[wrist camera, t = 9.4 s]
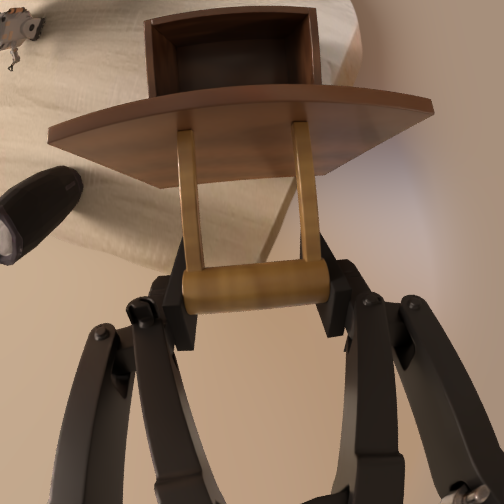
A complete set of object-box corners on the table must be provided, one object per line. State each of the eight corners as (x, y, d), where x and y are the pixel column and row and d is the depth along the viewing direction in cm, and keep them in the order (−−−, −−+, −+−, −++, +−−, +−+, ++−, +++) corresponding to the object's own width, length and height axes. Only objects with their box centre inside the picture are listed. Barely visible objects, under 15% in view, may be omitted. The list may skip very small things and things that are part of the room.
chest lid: (47, 127, 9) (63, 333, 10) (431, 98, 9) (449, 297, 10) (159, 181, 27) (167, 268, 28) (323, 167, 28) (330, 254, 28)
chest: (172, 44, 31) (143, 20, 19) (289, 35, 31) (316, 8, 19) (183, 156, 40) (160, 183, 28) (294, 147, 40) (323, 170, 28)
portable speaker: (50, 211, 42) (-14, 269, 25) (45, 161, 37) (-31, 204, 20) (88, 212, 43) (27, 276, 26) (84, 159, 38) (8, 203, 21)
